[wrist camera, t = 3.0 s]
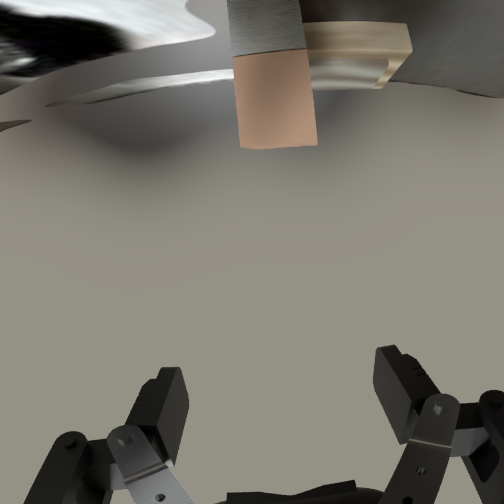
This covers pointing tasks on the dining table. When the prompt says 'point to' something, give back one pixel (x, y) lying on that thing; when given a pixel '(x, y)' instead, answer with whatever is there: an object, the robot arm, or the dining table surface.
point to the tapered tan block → (274, 100)
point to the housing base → (265, 26)
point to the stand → (355, 53)
